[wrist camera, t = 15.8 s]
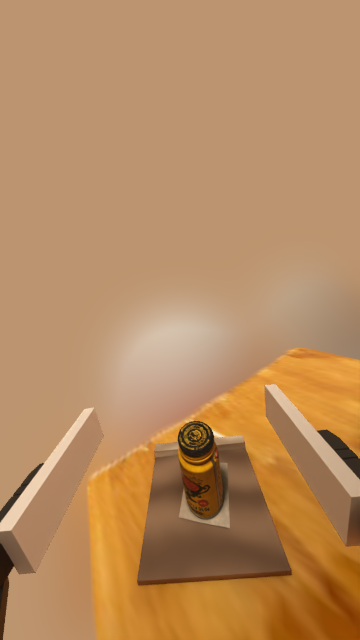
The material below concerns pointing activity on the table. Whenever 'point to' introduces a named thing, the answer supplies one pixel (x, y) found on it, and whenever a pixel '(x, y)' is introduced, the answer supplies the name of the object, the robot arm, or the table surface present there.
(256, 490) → the dock board
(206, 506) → the condiment
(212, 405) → the table surface
